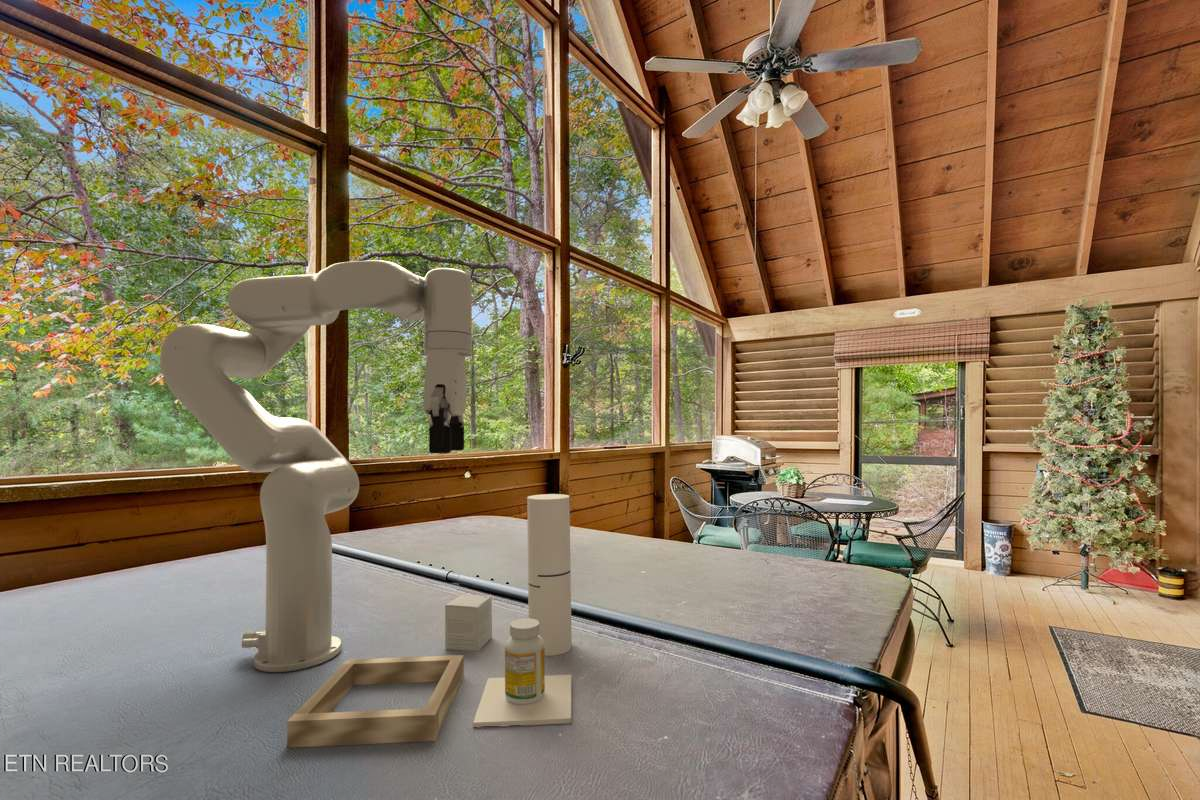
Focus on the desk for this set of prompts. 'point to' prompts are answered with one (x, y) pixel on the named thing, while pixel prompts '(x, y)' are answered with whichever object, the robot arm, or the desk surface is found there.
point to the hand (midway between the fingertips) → (447, 451)
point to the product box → (468, 622)
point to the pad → (525, 705)
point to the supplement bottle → (524, 662)
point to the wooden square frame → (377, 726)
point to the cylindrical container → (550, 569)
